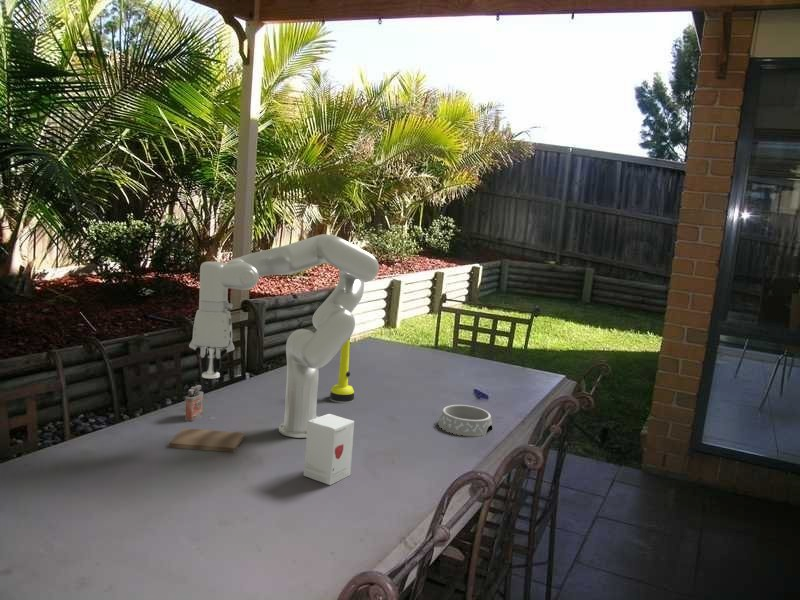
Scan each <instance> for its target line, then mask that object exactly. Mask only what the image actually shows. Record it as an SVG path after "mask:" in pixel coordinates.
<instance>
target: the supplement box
mask: <svg viewBox="0 0 800 600" xmlns="http://www.w3.org/2000/svg"><path fill="white" fill-rule="evenodd" d="M354 429H355V420H352V419H349V418H346V417H345V418H344V417H341V416H338V415H335V414H331V413H327V414H324V415H321V416H318V417H317V418H315V419H312V420H309V421H308V423H307V437H306V439H305V454H304V466H303V476H304V477H307V478H309V479H312V480H314V481H317V482H320V483H323V484H325V485H328V486H333V484H336V483H338V482H339V481H341V480H343V479H345V478H347V477H349V476H350V475H351V470H352V457H353V446H354V445H353V443H354V431H355V430H354Z"/></svg>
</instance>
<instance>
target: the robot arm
mask: <svg viewBox="0 0 800 600" xmlns="http://www.w3.org/2000/svg"><path fill="white" fill-rule="evenodd" d="M323 264H327V265H331V266H332V267H334V268H335V269H337V270H338V271H339V272H338V273H339V276H338V277H339V279H338V283H337V285H336V286H335V288H334V290H333V291H332V292H331V293H330V294H329V296H328V297H326V299H325V300H324V301H323V302H322V304H320V306H319V307H318V308H317V309H316V311H314V314H313V316H312V319H311V320H312V321H311V323H312V325H313V327H314V328H315V329H316V331H315V332H314V331H312V330H309V329H306V328H300V329H296V330H295V331H293V332H292V333H290V335H289V336H288V338H287V339H286V345H285V355H286V385H285V399H284V400H285V401H284V402H285V403H284V420H283V421H284V422H282V423H281V424H280V425H279V426H278V432H279V433H280V434H281V435H283V436H285V437H290V438H295V439H296V438H297V439H300V438H301V439H305V438H306V437H307V423H308V421H309V420H312V419H315V418H317V417H319V416H318V414H317V404H318V403H317V402H318V388H319V387H318V386H319V369H320V368H323V367H324V366H326V365H328V363H330V361H332V359H333V358H334V357H335V356H336V355H337V353H338V352H340V351H341V348H342V346H343V345H344V344H345V343H346V342H347V341H348V339H349V338H350V337H351V338H352V336H353V333H354V330H355V328H356V321H355V316H354V314H353V311H354V310H355V308H356V307H357V306H358V305H359V303H360V301H361V300H362V297H363V295H364V290H365V289H364V288H365V283H366V282H370V281H372V280H374V279H375V278H376V277H377V275H378V274H379V269H380V265H379V261H378V259H376V257H375V256H374V255H373V254H371V253H369V252H368V251H366V250H364V249H363V248H360V247H359V246H357V245H355V244H353V243H351V242H349V241H347V240H345V239H344V238H342V237H340V236H337V235H331V234H327V233H325V234H324V233H323V234H318V235H314V236H310V237H307V238H305V239H302V240H299V241H295V242H292V243H288V244H286V245H281V246H277V247H273V248H270V249H265V250H260V251H256V252H252V253H248V254H245V255H242V256H239V257H235V258H233V259H231V260H229V261H228V262H222V261H204V262H202V263H201V265H200V268H199V299H198V301H199V302H198V309H197V310H196V313H195V316H194V322H193V326H192V327H193V328H192V339H191V341H190V343H189V344H188V347H189V348H190V349H192V350H194V351H196V353H197V354H198V355H199V356H200V358H201V368H202V373H204V372H207V370H208V367H209V361H210V358H208V356H209V354H208V353H209V350H208V348H210V347H214V348H216V349H215V355H214V356H215V358H213V362H214V373H216V372H218V373H219V371H220V370H221V368H222V357H223V356H224V355H225V354H227V353H230V352H232V351H234V350H235V345H234V343H233V325H232V324H233V323H232V315H231V311H229V309H233V303H231V302H230V303H229V300H228V299H229V298H228V294H229V289H235V290H241V291H244V290H245V291H247V290H251V289H253V288H255V286H256V285H257V284H258V282H259V281H260V278H261V277H266V276H273V275H279V276H281V275H282V276H284V275H285V276H286V275H293V274H296V273H299V272H302V271H305V270H308V269H311V268H315V267H318V266H321V265H323ZM351 338H350V339H351Z"/></svg>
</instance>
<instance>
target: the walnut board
mask: <svg viewBox="0 0 800 600" xmlns="http://www.w3.org/2000/svg"><path fill="white" fill-rule="evenodd" d="M245 434H246V432H240V431H239V432H238V431H237V432H236V431H224V430H213V429H211V430H210V429H199V428H188V427H187V428H185V427H184V428H182V429H181V430H180V431H179V433H177V434H176V435H175V436H174V438H172V440H170V442H169V444H168V447H169V448H175V449H189V450H201V451H202V450H203V451H204V450H205V451H214V450H215V451H216V452H227V451H232V452H231V453H235V452H236V450H237V449H238V447H239V446H240V444H241V443H242V441H243V440H244V438H245V437H246V435H245ZM244 436H245V437H244ZM242 439H243V440H242ZM240 442H241V443H240ZM238 445H239V446H238ZM236 448H237V449H236ZM234 451H235V452H234Z"/></svg>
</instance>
